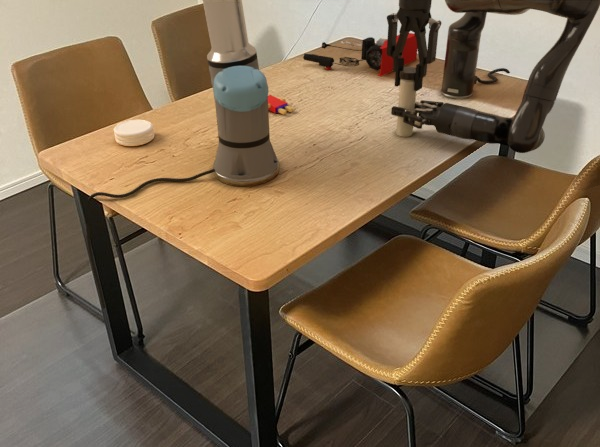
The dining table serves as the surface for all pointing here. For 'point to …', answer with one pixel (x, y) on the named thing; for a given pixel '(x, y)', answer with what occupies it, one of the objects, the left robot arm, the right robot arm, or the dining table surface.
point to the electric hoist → (370, 54)
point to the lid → (407, 73)
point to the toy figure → (278, 105)
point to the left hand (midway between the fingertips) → (408, 86)
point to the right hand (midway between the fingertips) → (396, 107)
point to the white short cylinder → (134, 132)
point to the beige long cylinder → (406, 106)
